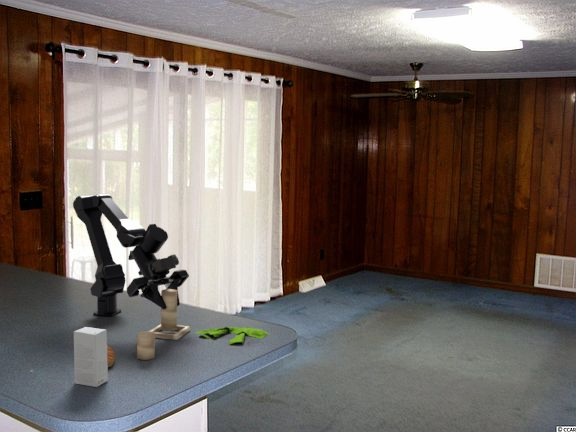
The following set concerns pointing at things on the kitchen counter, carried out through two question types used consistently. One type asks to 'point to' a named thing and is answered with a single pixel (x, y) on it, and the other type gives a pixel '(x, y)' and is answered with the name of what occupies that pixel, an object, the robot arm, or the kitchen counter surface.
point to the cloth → (239, 338)
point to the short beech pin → (146, 345)
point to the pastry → (110, 356)
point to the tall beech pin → (169, 310)
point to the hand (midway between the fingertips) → (172, 307)
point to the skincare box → (90, 356)
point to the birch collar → (171, 336)
